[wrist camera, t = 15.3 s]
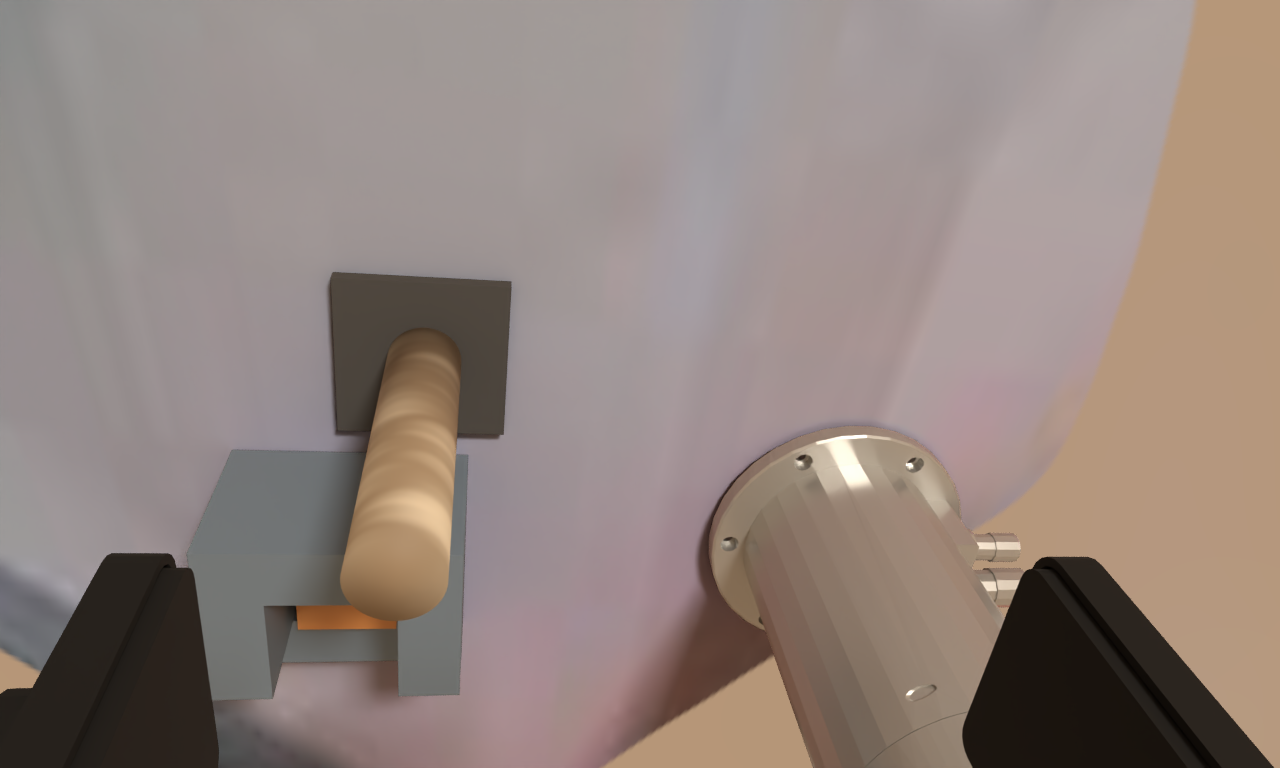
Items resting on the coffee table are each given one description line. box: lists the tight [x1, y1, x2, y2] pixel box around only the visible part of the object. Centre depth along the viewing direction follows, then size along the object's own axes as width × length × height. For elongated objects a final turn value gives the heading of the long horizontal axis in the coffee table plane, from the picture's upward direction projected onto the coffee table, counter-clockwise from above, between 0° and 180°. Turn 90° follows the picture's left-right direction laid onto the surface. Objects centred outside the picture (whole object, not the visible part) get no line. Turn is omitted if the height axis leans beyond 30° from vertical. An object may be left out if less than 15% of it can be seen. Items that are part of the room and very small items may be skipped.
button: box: [296, 605, 397, 630], centre depth 42 cm, size 4×4×2 cm
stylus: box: [340, 328, 461, 621], centre depth 33 cm, size 3×3×14 cm
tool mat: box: [331, 272, 511, 435], centre depth 39 cm, size 7×7×1 cm
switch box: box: [187, 450, 468, 700], centre depth 41 cm, size 10×10×7 cm
